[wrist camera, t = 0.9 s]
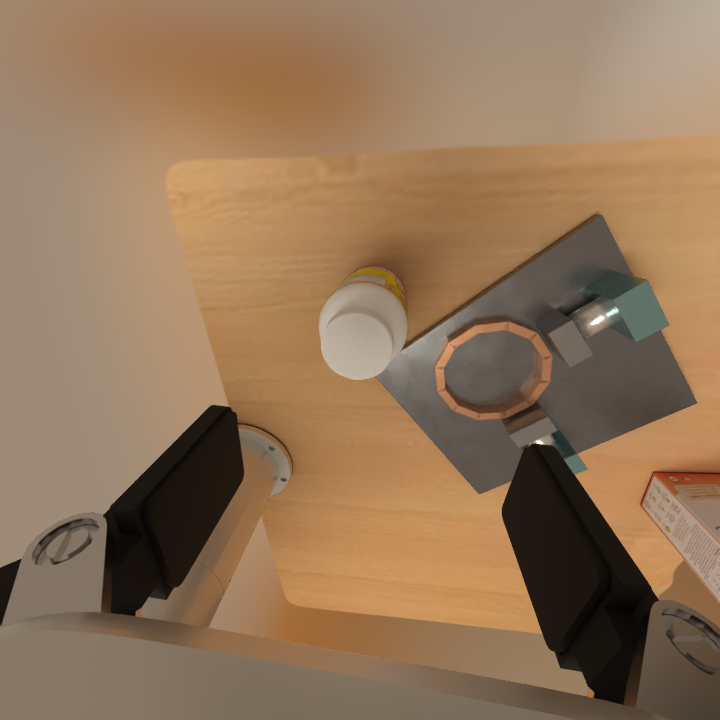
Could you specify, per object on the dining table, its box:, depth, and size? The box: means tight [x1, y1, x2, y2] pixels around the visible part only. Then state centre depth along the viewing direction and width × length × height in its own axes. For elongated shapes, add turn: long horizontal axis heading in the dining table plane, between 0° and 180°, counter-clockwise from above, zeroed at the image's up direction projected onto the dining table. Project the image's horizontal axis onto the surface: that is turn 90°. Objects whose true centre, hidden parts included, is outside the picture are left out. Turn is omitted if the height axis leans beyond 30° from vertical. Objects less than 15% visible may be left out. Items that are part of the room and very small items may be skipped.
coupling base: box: [375, 215, 697, 494], centre depth 30 cm, size 24×22×5 cm
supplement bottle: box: [319, 266, 408, 380], centre depth 25 cm, size 7×7×13 cm
